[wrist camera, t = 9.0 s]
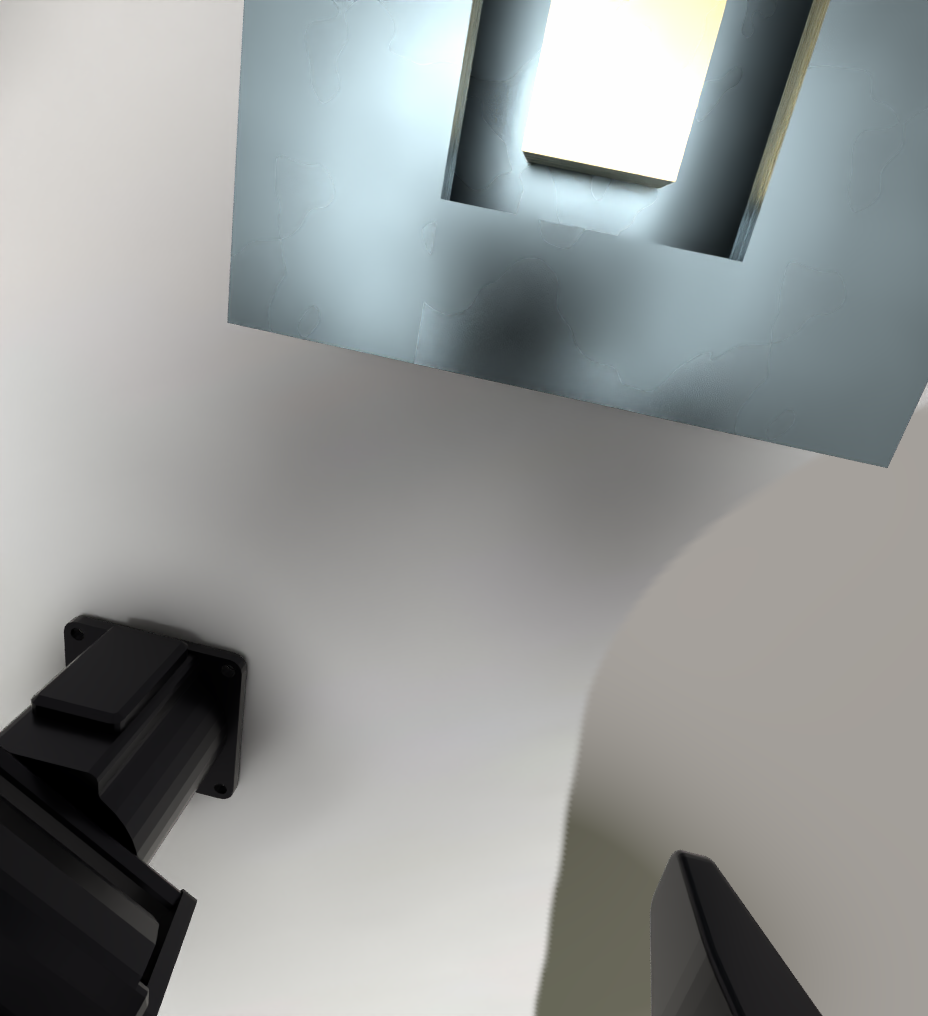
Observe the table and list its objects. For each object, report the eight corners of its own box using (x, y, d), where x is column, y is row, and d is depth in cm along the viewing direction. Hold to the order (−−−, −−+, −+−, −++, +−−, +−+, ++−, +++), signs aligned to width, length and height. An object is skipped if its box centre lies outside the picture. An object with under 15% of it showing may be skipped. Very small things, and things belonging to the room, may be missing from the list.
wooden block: (659, 188, 16) (675, 181, 14) (527, 161, 16) (522, 150, 14) (747, -132, 14) (784, -204, 12) (593, -160, 14) (599, -237, 12)
